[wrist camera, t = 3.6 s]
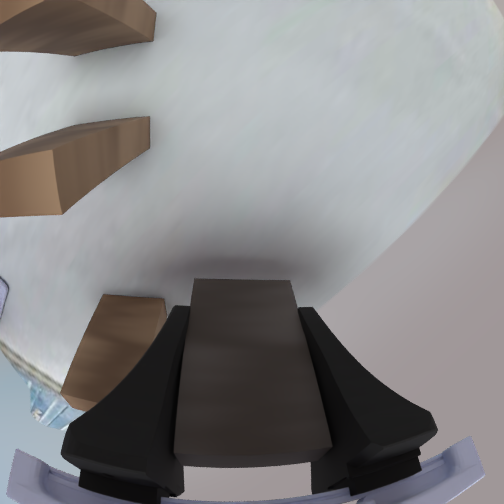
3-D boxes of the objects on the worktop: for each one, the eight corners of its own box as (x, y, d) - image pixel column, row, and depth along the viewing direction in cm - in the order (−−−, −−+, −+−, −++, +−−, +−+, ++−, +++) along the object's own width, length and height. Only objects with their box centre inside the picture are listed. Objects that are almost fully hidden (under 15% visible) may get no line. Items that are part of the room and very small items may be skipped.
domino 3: (108, 311, 18) (72, 407, 11) (103, 294, 17) (60, 393, 10) (167, 316, 18) (145, 423, 11) (164, 298, 17) (137, 410, 10)
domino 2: (75, 154, 12) (-31, 219, 5) (73, 125, 11) (-41, 172, 4) (149, 148, 12) (62, 214, 5) (149, 116, 11) (52, 149, 5)
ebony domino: (196, 304, 13) (181, 465, 7) (194, 278, 13) (173, 452, 6) (284, 305, 14) (318, 460, 7) (289, 280, 13) (332, 446, 6)
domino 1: (74, 56, 9) (-42, 54, 2) (77, 29, 8) (-33, 11, 1) (153, 41, 9) (61, -7, 3) (156, 13, 9) (76, -55, 2)
